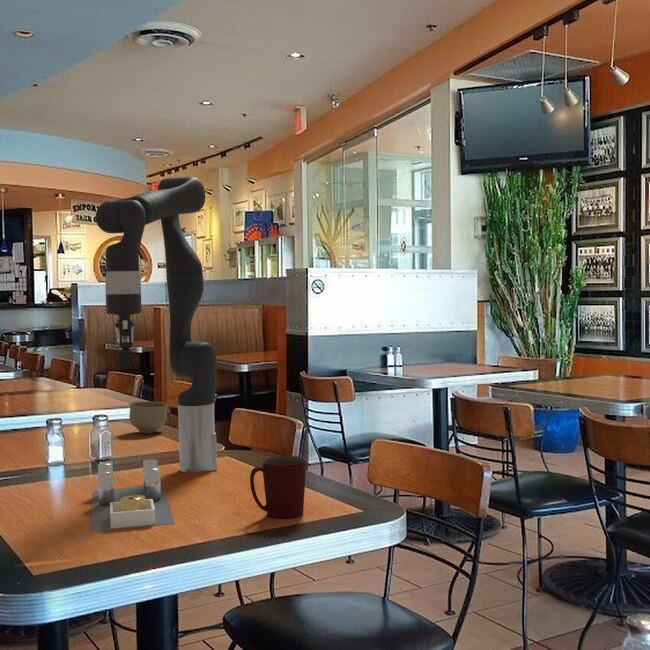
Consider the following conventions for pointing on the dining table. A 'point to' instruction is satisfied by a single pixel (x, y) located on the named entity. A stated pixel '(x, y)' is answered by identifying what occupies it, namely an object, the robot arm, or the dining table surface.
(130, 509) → the nut
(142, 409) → the bowl
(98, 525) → the mat
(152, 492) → the spacers
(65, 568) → the dining table surface
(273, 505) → the mug
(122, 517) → the white square tray
